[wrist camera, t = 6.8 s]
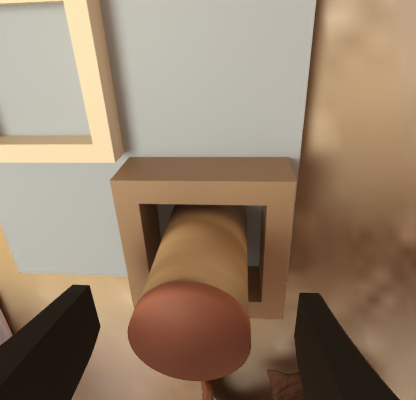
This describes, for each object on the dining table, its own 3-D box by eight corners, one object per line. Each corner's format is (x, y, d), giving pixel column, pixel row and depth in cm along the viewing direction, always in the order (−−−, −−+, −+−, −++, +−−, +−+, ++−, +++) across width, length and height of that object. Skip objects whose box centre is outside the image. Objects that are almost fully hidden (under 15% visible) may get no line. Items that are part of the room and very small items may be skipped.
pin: (179, 252, 17) (144, 381, 11) (164, 188, 15) (112, 299, 9) (250, 247, 17) (255, 380, 10) (243, 180, 15) (244, 293, 9)
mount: (29, 261, 20) (-11, 305, 17) (-73, -19, 13) (-169, -31, 10) (284, 269, 18) (293, 319, 15) (314, -40, 12) (340, -61, 9)
